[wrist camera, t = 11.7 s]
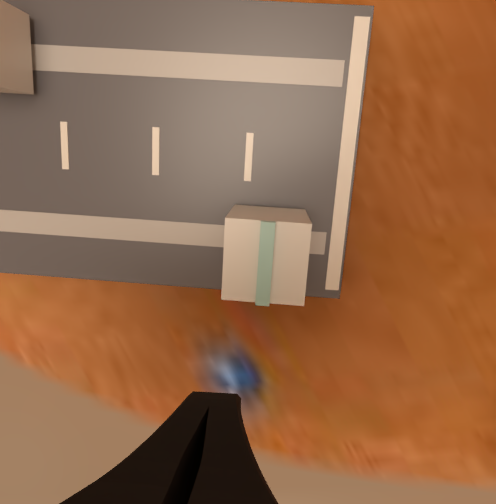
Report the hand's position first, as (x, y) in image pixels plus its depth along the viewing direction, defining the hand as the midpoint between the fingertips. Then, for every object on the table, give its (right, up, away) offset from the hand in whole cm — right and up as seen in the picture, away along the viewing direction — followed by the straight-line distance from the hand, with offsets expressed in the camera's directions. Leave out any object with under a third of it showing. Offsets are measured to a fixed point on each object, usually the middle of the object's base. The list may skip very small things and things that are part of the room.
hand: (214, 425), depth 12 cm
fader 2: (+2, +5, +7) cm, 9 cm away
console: (-3, +9, +8) cm, 13 cm away
